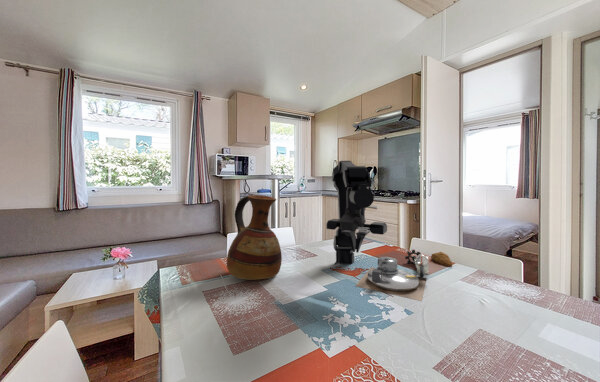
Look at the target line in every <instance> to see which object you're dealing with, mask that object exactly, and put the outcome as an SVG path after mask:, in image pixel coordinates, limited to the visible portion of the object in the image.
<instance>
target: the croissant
mask: <svg viewBox="0 0 600 382" xmlns="http://www.w3.org/2000/svg"><path fill="white" fill-rule="evenodd" d="M430 258H431V260H432V261H433V262H434V263H438V264H439V265H442V266H444V267H448V268H449V267H450V268H452V267H453V262H452V260H451V259H450V256H449V255H448V254H447V253H445V252H442V251H439V252H435V253H432V254H431V255H430Z"/></svg>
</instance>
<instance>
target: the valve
mask: <svg viewBox="0 0 600 382" xmlns="http://www.w3.org/2000/svg"><path fill="white" fill-rule="evenodd" d="M406 254H407V255H405V256H404V259H405V260H407V261H406V264H410V263H411V264H413V265H415V267H416V272H417V273H418V274H420V266H418V265H417V264H416V262H415V258H416V257H417V256H418V255H422V254H421V252H420V251H416V250H415V249H412V250H411V252H410V250H409V251H406ZM426 257H427V258H428V259H429V257H428V256H426ZM429 269H430V263H428V265H427V266H426V267H424V275H428V274H429Z"/></svg>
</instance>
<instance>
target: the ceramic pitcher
mask: <svg viewBox="0 0 600 382" xmlns="http://www.w3.org/2000/svg"><path fill="white" fill-rule="evenodd" d="M276 201H277V198H275V197H271V196H268V195H262V194H253V193H252V194H248V195H245V196H244V197H242V198H240V200H239V201H238V202H237V204H236V207H235V211H234V221H235V225H236V229H237V234H236V235H235V237H234V239H233V240H232V242H231V244H230V247H229V249H228V251H227V256H226V267H227V269H226V270H228V272H229V273H230V275H231V276H233V277H234V278H237V279H240V280H262V279H263V280H264V279H269V278H273V277H276V276H277V275H278V274H279V272H280V270H281V266H282V261H283V259H282V255H283V254H282V250H281V245H280V242H279V239H278V237H277V235H276V233H275V232H274V231H273V230H272V229H271V228H270V225H269V214H270V208H271V206H272V205H273V204H274V203H275V202H276ZM249 202H250V205H251V207H252V210H251V213H252V214H251V219H250V222H249V224H248V225H247V226H245V223H244V217H243V214H244V213H243V212H244V209H245V207H246V205H247V204H248V203H249Z"/></svg>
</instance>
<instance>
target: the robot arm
mask: <svg viewBox="0 0 600 382" xmlns="http://www.w3.org/2000/svg"><path fill="white" fill-rule="evenodd" d="M331 173H332V174H331V181H332V182H333V187H334V188H335V190H336V191H337V204H338V205H337V206H338V207H337V209H338V210H337V211H338V218H331V219H329V220H327V222H326V223H325V224H326V230H333V231H334V230H336V231H335V235H334V237H333V242H332V243H333V250H334V251H335V262H334V265H335V266H336V265H337V264H338V263H340V264H342V265H348V264H349V265H353V264H355V252H356V253H357V254H358V253H359V251H360V249H361V248H362V243H363V242H364V239H365V238H366V236H367V235H368V234H369V233H371V234H373V235H374V234H375V235H385V233H387V232H388V225H387V223H386V222H383V221H382V222H381V221H373V222H371V223H366V217H365V216H366V215H365V214H366V213H365V212H366V208H369V207H370V206H371V205H372V204H373V202H374V200H375V195H374V194H373V192H372V190H371V189H369V188H370V187H372V184H373V181H372V178H371V174H370V172H369V170H368V169H367V167H366V165H362V166H361V165H357V166H356V165H355V164H354V163H353V162H352V160H340V161H338V164H337V165H336V166H334V168H333V169H332V172H331ZM357 230H358V232H357Z"/></svg>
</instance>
